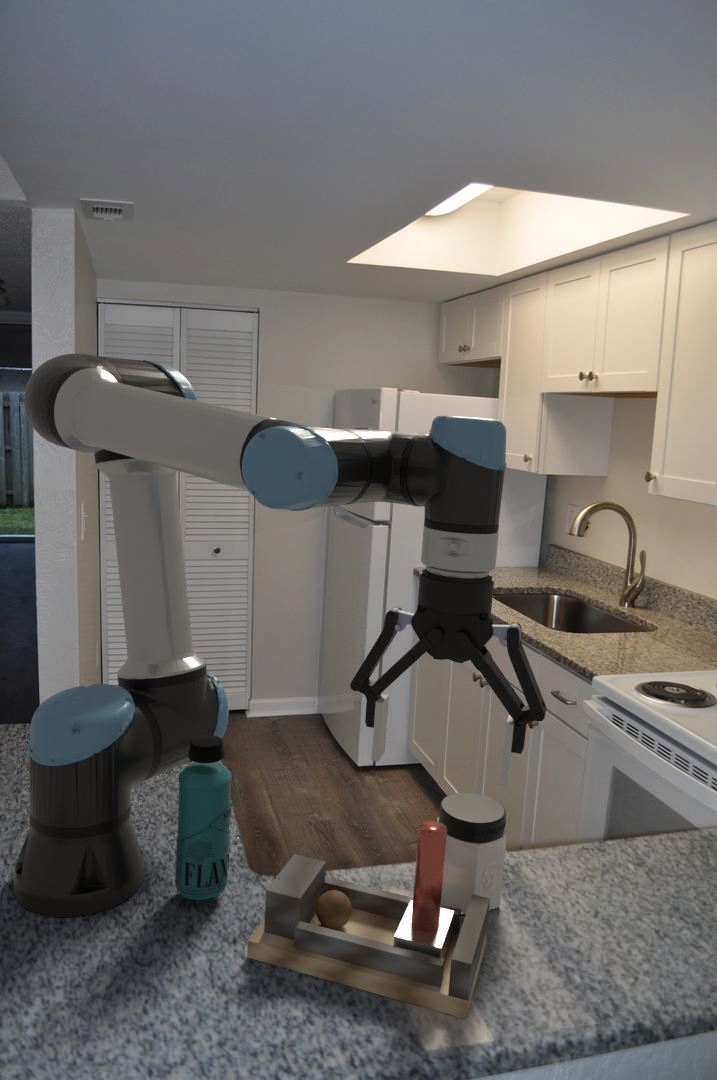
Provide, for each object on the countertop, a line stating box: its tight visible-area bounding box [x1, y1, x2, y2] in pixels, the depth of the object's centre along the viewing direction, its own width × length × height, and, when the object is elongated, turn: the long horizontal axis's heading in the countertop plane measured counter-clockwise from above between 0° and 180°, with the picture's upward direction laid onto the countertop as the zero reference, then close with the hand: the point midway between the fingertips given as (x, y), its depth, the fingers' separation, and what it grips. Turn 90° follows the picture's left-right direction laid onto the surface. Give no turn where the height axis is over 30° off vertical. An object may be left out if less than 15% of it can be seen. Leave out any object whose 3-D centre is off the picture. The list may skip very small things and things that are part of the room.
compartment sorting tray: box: [246, 853, 490, 1020], centre depth 90 cm, size 24×12×7 cm, turn 72°
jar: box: [436, 792, 507, 914], centre depth 101 cm, size 9×8×12 cm
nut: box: [316, 890, 352, 929], centre depth 91 cm, size 4×4×4 cm
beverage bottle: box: [173, 735, 233, 901], centre depth 97 cm, size 6×7×20 cm
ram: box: [394, 820, 454, 959], centre depth 87 cm, size 5×7×14 cm
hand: (440, 768), depth 86 cm, fingers open, 13 cm apart
